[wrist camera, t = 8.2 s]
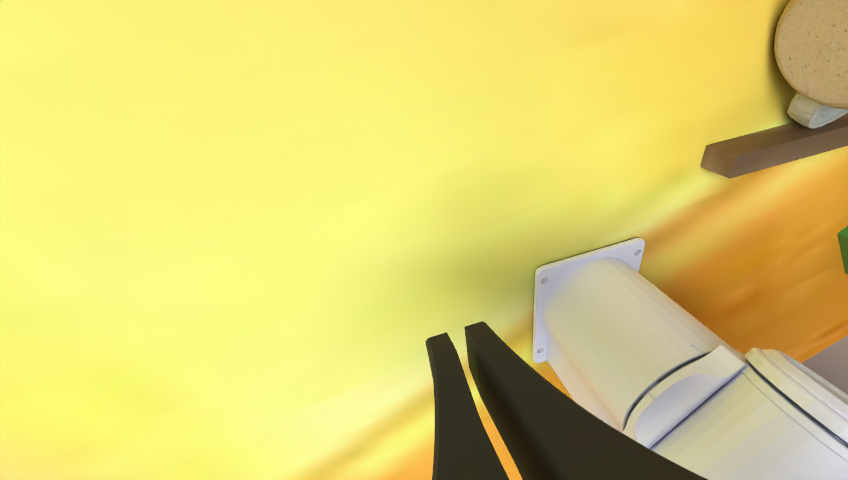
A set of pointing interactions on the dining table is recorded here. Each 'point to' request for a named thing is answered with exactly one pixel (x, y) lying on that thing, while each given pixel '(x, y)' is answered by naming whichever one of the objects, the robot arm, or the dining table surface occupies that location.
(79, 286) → the dining table surface
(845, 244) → the hardback book
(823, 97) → the ceramic mug
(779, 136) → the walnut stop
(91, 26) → the dining table surface
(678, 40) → the dining table surface
